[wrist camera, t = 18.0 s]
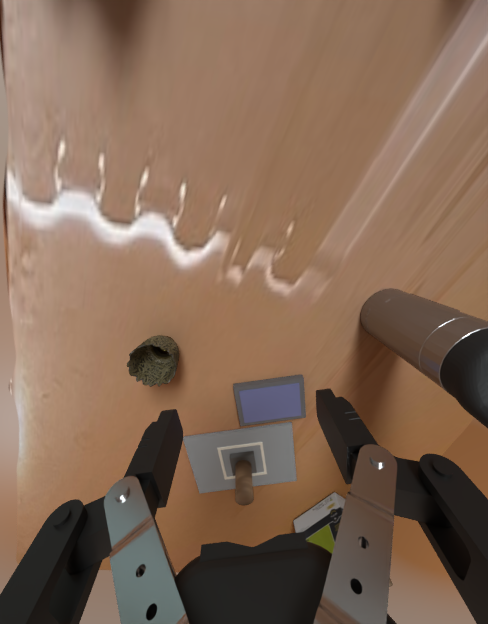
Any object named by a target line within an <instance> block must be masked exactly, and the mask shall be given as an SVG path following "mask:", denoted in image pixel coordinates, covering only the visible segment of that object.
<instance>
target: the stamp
mask: <svg viewBox="0 0 488 624" xmlns="http://www.w3.org/2000/svg"><path fill="white" fill-rule="evenodd" d="M230 463H231V468H232V473H233V476H235V500H236V502H237V503H238V504H239V505H249V504H251V503H252V502H253V500H254V498H253V483H252V473H257V470H256V462H255V456H254V451H247V452H239V453H231V454H230Z"/></svg>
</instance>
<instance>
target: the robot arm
mask: <svg viewBox="0 0 488 624" xmlns="http://www.w3.org/2000/svg"><path fill="white" fill-rule="evenodd" d="M361 323H362V326H363V327H364V329H365V330H366V331H367V332H368V333H370V334H371V335H372V336H374V337H375V338H376V339H378V340H379V341H380V342H381V343H383V344H384V345H385V346H387V347H388V348H389V349H391V350H392V351H393V352H395V353H396V354H397V355H399V356H400V357H401V358H403V359H404V360H405V361H407V362H408V363H409V364H411V365H412V366H413V367H415V368H416V369H417V370H419V371H420V372H421V373H423V374H424V375H425V376H427V377H428V378H430V379H431V380H432V381H434V382H435V383H436V384H437V385H439V386H440V387H441V388H443V389H444V390H445V391H447V392H448V393H449V394H451V395H452V396H453V397H455V398H456V399H457V401H458V402H459V403H460V405H461V406H462V407H463V408H464V409H465V410H466V411H467V412H468V413H470V414H471V415H472V416H473V417H475V418H476V419H477V420H478V421H479V422H481V423H482V424H483V425H484V426H486V427H487V428H488V321H485V320H482V319H480V318H476V317H474V316H471V315H468V314H465V313H462V312H460V311H459V310H457V309H454V308H451V307H448V306H445V305H442V304H439V303H437V302H434V301H431V300H428V299H425V298H422V297H419V296H416V295H414V294H409V293H406V292H403V291H400V290H397V289H385V290H382V291H379V292H377V293H375V294H374V295H373V296H371V297H370V298H369V299H368V300H367V301H366V303H365V304H364V306H363V308H362V311H361ZM316 408H317V417H318V421H319V423H320V426H321V428H322V430H323V433H324V435H325V437H326V439H327V442H328V444H329V446H330V448H331V451H332V453H333V455H334V458H335V460H336V462H337V464H338V467H339V469H340V471H341V474H342V476H343V478H344V480H345V483H346V484H351V488H350V492H348V493H347V496H346V500H345V504H344V508H343V512H342V516H341V520H340V524H339V528H338V533H337V537H336V541H335V545H334V549H333V553H330V552H329V551H328V550H326V549H325V548H323V547H321V546H319V545H317V544H314V543H312V542H307V541H306V537H305V533H304V532H298V533H290V534H283V535H278V536H276V537H274V538H272V539H270V540H268V541H266V542H264V543H262V544H260V545H258V546H255V547H248V546H244V545H239V544H235V543H230V542H220V543H213V544H205V545H201V554H200V556H198V557H197V558H195V559H194V560H192V561H191V562H190V563H188V564H187V565H186V566H185V567H184V568H183V569H182V570H181V571H180V572H179V573H178V575H176V572H175V570H174V567H173V565H172V562H171V560H170V557H169V555H168V552H167V549H166V547H165V544H164V541H163V538H162V536H161V533H160V530H159V528H158V525H157V522H156V520H155V515H156V511H157V508H162V507H166V504H167V500H168V496H169V492H170V488H171V484H172V481H173V477H174V473H175V469H176V465H177V461H178V457H179V453H180V449H181V445H182V441H183V429H182V426H181V423H180V419H179V416H178V413H177V410H176V409H173V410H165V411H162V412H161V413H160V416H159V418H158V421H157V422H152V423H151V424H150V426H149V427H148V428H147V429H146V430H145V432H144V434H143V437H142V439H141V441H140V443H139V445H138V448H137V450H136V452H135V454H134V456H133V458H132V461H131V463H130V465H129V467H128V469H127V472H126V474H125V476H124V478H122V479H121V480H119V481H118V482H116V483H115V484H114V485H113V486H112V487H111V488H110V490H109V491H108V492H107V494H106V496H104V497H102V498H100V499H98V500H95V501H93V502H91V503H89V504H87V505H83V503H82V502H81V501H80V500H76V499H75V500H70V501H68V502H66V503H64V504H62V505H61V506H60V507H58V508H57V509H56V510H55V511H54V512H53V513H52V514H51V515H50V516H49V517H48V518H47V520H46V521H45V523H44V524H43V526H42V528H41V529H40V531H39V533H38V534H37V536H36V537H35V539H34V541H33V542H32V544H31V546H30V547H29V549H28V550H27V552H26V554H25V555H24V557H23V559H22V560H21V562H20V563H19V565H18V567H17V568H16V570H15V572H14V573H13V575H12V577H11V578H10V580H9V581H8V583H7V585H6V586H5V588H4V589H3V591H2V593H1V594H0V624H79V622H80V620H81V617H82V614H83V611H84V609H85V606H86V603H87V600H88V597H89V595H90V592H91V590H92V587H93V584H94V581H95V579H96V576H97V573H98V570H99V568H100V565H101V562H102V560H103V559H104V558H106V557H108V556H110V563H111V569H112V575H113V580H114V586H115V592H116V597H117V604H118V609H119V615H120V621H121V624H396V623H395V621H394V620H393V619H392V618H391V617H390V616H389V615H388V614H387V607H388V593H389V580H390V566H391V553H392V539H393V526H394V515H396V516H400V517H404V518H408V519H412V520H416V521H418V522H419V524H420V525H421V527H422V529H423V531H424V533H425V534H426V536H427V538H428V540H429V541H430V543H431V545H432V546H433V548H434V550H435V552H436V553H437V555H438V557H439V558H440V560H441V562H442V564H443V566H444V567H445V569H446V571H447V573H448V574H449V576H450V578H451V579H452V581H453V583H454V585H455V586H456V588H457V590H458V591H459V593H460V595H461V597H462V598H463V600H464V602H465V604H466V605H467V607H468V609H469V611H470V612H471V614H472V616H473V617H474V619H475V621H476V623H477V624H488V499H487V498H486V497H485V496H484V495H483V493H482V492H481V491H480V490H479V489H478V488H477V487H476V486H475V484H474V483H473V482H472V481H471V480H470V479H469V478H468V476H467V475H466V474H465V473H464V472H463V471H462V470H461V469H460V468H459V467H458V466H457V465H456V464H455V463H454V462H452V461H451V460H449V459H447V458H445V457H443V456H440V455H437V454H425V455H423V456H422V457H421V458H420V462H418V461H412V460H407V459H401V458H397V457H395V456H393V455H392V454H391V453H390V452H389V451H388V450H386V449H385V448H383V447H381V446H379V445H378V444H377V442H376V441H375V439H374V438H373V436H372V435H371V433H370V432H369V430H368V429H367V427H366V426H365V424H364V423H363V422H362V420H361V419H360V417H359V416H358V414H357V413H356V412H355V410H354V408H353V407H352V405H351V404H350V403H349V402H348V401H347V400H345V399H344V398H343V397H337V398H336V397H335V395H334V394H333V392H332V390H331V389H322V390H316Z"/></svg>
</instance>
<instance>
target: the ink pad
mask: <svg viewBox="0 0 488 624" xmlns="http://www.w3.org/2000/svg"><path fill="white" fill-rule="evenodd" d="M233 388H234V394H235V399H236V405H237V410H238V415H239V421H240V426H246V425H253V424H261V423H268V422H276V421H283V420H290V419H298V418H305V417H306V411H305V394H304V378H303V376H302V375H294V376H287V377H280V378H273V379H265V380H258V381H251V382H244V383H236V384H233Z"/></svg>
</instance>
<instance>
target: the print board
mask: <svg viewBox="0 0 488 624" xmlns="http://www.w3.org/2000/svg"><path fill="white" fill-rule="evenodd" d="M183 440H184V444H185V447H186V450H187V453H188V457H189V460H190V463H191V466H192V470H193V473H194V476H195V480H196V483H197V486H198V489H199V493H206V492H214V491H222V490H229V489H235V476H233V473H232V468H231V463H230V454H231V453H239V452H247V451H254V456H255V462H256V470H257V473H252V483H253V486H260V485H267V484H275V483H283V482H290V481H297V479H296V468H295V456H294V444H293V433H292V423H291V422H288V423H281V424H273V425H266V426H258V427H251V428H244V429H236V430H229V431H221V432H214V433H206V434H199V435H192V436H184V437H183Z"/></svg>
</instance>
